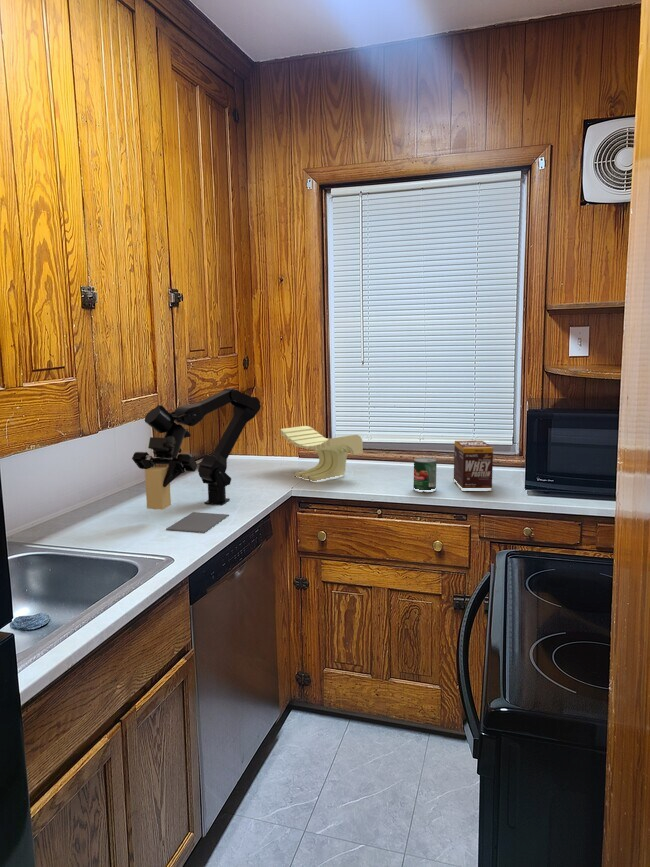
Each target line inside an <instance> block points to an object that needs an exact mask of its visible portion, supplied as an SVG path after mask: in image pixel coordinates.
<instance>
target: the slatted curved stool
mask: <svg viewBox="0 0 650 867" xmlns="http://www.w3.org/2000/svg"><path fill="white" fill-rule="evenodd" d="M280 437H283V438H284V440H286V441H288V443H290V444H293V446H294V447H296V448H302V449H306V450H309V451H314V452H315V451H316V453H317V456H318V458H319V459H318V460H319V461H318V463H317V465H315V466H314V467H312V468H310V469H306V470H302V471H298V472H295V474H294V476H297V477H302V478H304V479H309V480H312V481H317V480H321V479H326V478H330V477H335V476H340V475H344V476H345V473H346V465H347V458H348V455H349V453H350V454H352V455H353V456H356V455H362V454H363V453H364V451H363V444H364V442H363V439H362V437H361V436H360V435H358V434H351V435H344V436H339V437H333V438H332V437H331V438H326V437H324V435H322V434H320V433H319V431H317V430H315V428H313V427H311V426H309V425H302V426H293V427H286V428H280ZM302 478H301V479H302Z"/></svg>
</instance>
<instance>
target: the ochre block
mask: <svg viewBox="0 0 650 867" xmlns="http://www.w3.org/2000/svg"><path fill="white" fill-rule="evenodd" d="M168 469H169V466H156V465H155V466H153V467H151V468H148V469H144V474H145V475H144V478H145V480H144V481H145V494H146V495H145V496H146V509H148V510H159V511H162V510H165V509H166V508H168V507H170V506H172V498H171V497H172V496H171V495H172V494H171V482H170V483H169V484H168V485H167V486H166V487H163V482H164V479H165V476H166V474H167V471H168Z"/></svg>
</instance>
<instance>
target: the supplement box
mask: <svg viewBox="0 0 650 867" xmlns="http://www.w3.org/2000/svg"><path fill="white" fill-rule="evenodd" d="M453 450H454V454H453V455H454V456H453V480H454V479H455V480H456V481H457V483H458V484H459V485H460V486H461V487H462V488H492V489H493V487H492V486H493V465H494V464H493V463H494V460H493V459H494V447H492V446H491V445H489V443H486V442H485V441H484V440H455V441H454V449H453Z"/></svg>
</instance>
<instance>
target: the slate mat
mask: <svg viewBox="0 0 650 867" xmlns="http://www.w3.org/2000/svg"><path fill="white" fill-rule="evenodd" d="M227 516H228V517H230V514H226V513H215V512H214V513H212V512H211V513H210V512H199V511H198V512H196V511H193V512H191V513H189V514H188V515H186V516H185V517H183V518H181V519H180V520H178V521H176V522H175V523H172V524H171V525H169V526H168V527H166V528H165V530H166V531H173V532H175V531H176V532H177V531H178V532H184V533H185V532H190V533H197V534H200V533H203V534H206V533H207V532H209V531H210V530H211V529H212V527H213V528H214V527H215V525H216V524H217V525H219V524H220V523H221V522H222V520H223V519H224V520H225V519H227V518H228V517H227ZM226 517H227V518H226ZM224 520H223V521H224ZM219 522H220V523H219ZM217 525H216V526H217ZM208 530H209V531H208ZM199 532H200V533H199ZM205 532H206V533H205Z"/></svg>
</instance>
